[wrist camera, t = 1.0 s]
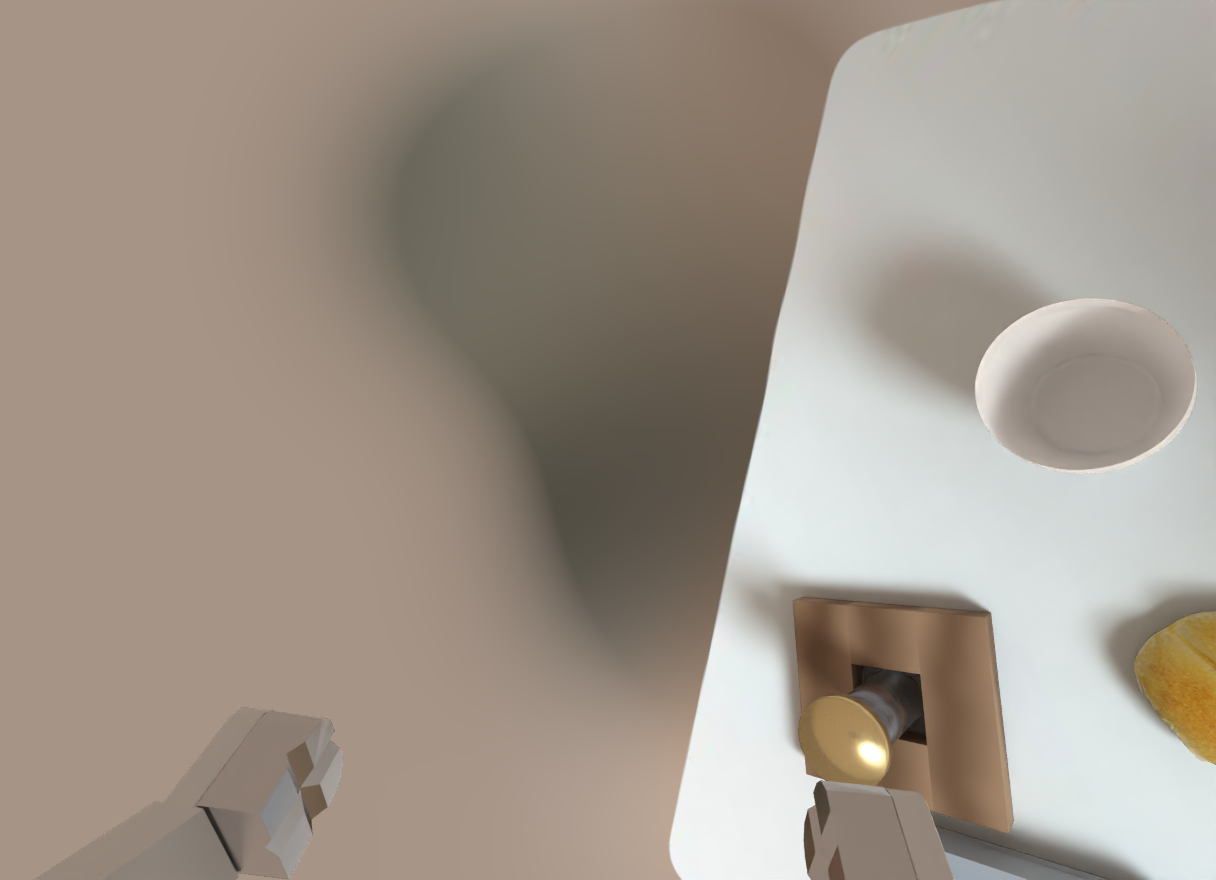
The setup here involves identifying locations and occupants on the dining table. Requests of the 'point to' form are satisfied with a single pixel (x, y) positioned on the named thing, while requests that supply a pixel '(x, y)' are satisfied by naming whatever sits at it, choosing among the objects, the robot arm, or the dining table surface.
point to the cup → (1086, 386)
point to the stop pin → (859, 728)
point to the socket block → (951, 690)
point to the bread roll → (1183, 680)
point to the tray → (1000, 861)
